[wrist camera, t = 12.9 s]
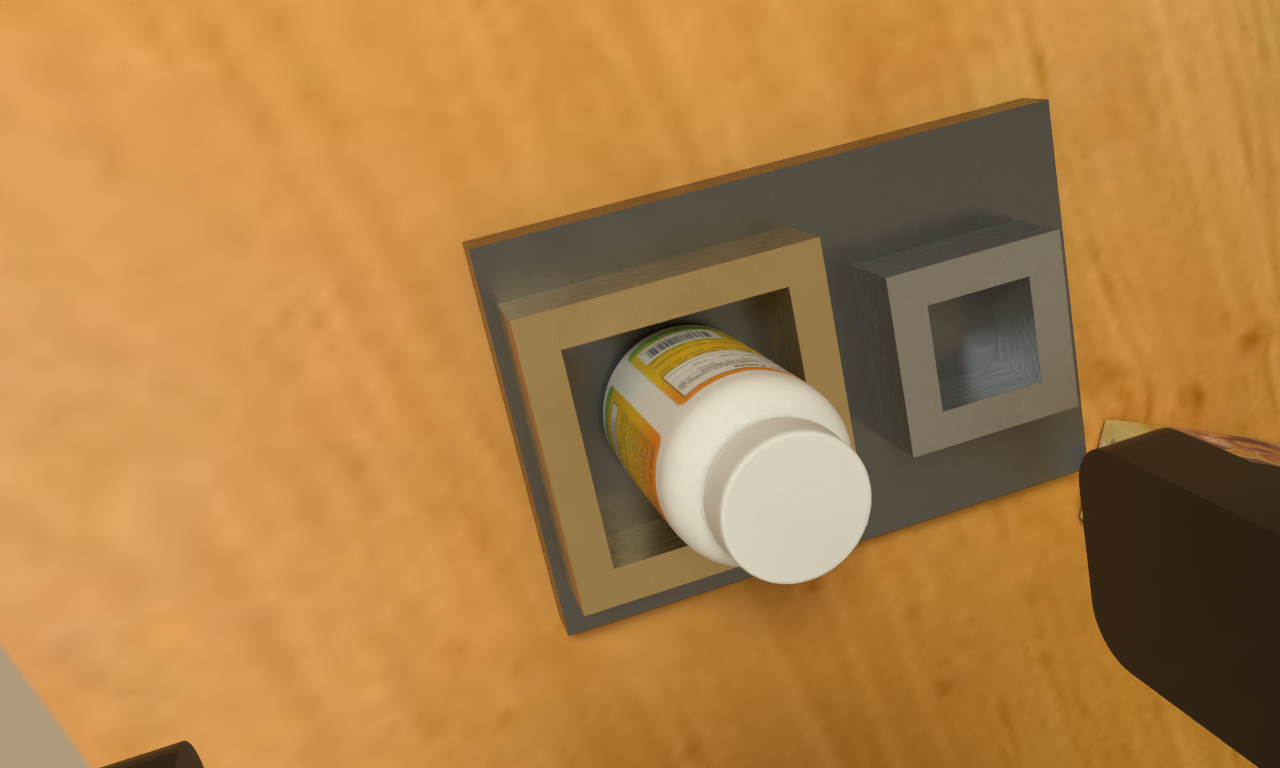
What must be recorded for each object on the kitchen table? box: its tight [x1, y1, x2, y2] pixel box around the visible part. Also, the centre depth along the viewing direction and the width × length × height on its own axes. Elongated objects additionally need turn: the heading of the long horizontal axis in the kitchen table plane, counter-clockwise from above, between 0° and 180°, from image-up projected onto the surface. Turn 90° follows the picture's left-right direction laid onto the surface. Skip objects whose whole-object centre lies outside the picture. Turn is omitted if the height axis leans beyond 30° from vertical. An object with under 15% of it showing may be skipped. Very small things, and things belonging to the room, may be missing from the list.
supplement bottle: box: [603, 325, 872, 584], centre depth 34 cm, size 5×5×10 cm
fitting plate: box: [462, 98, 1086, 636], centre depth 39 cm, size 19×13×4 cm
